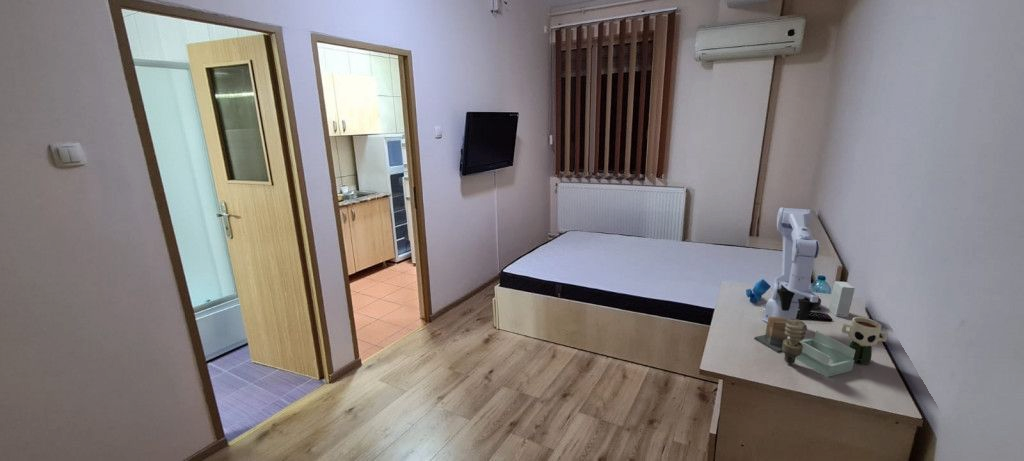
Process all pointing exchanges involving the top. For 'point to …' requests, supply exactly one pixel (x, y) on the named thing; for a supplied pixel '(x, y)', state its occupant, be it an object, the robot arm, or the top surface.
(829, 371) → the pale green open tray
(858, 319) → the character mug
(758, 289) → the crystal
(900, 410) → the top surface
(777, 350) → the mat
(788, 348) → the light bulb
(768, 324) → the walnut box
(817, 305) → the smart speaker
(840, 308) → the skincare box
